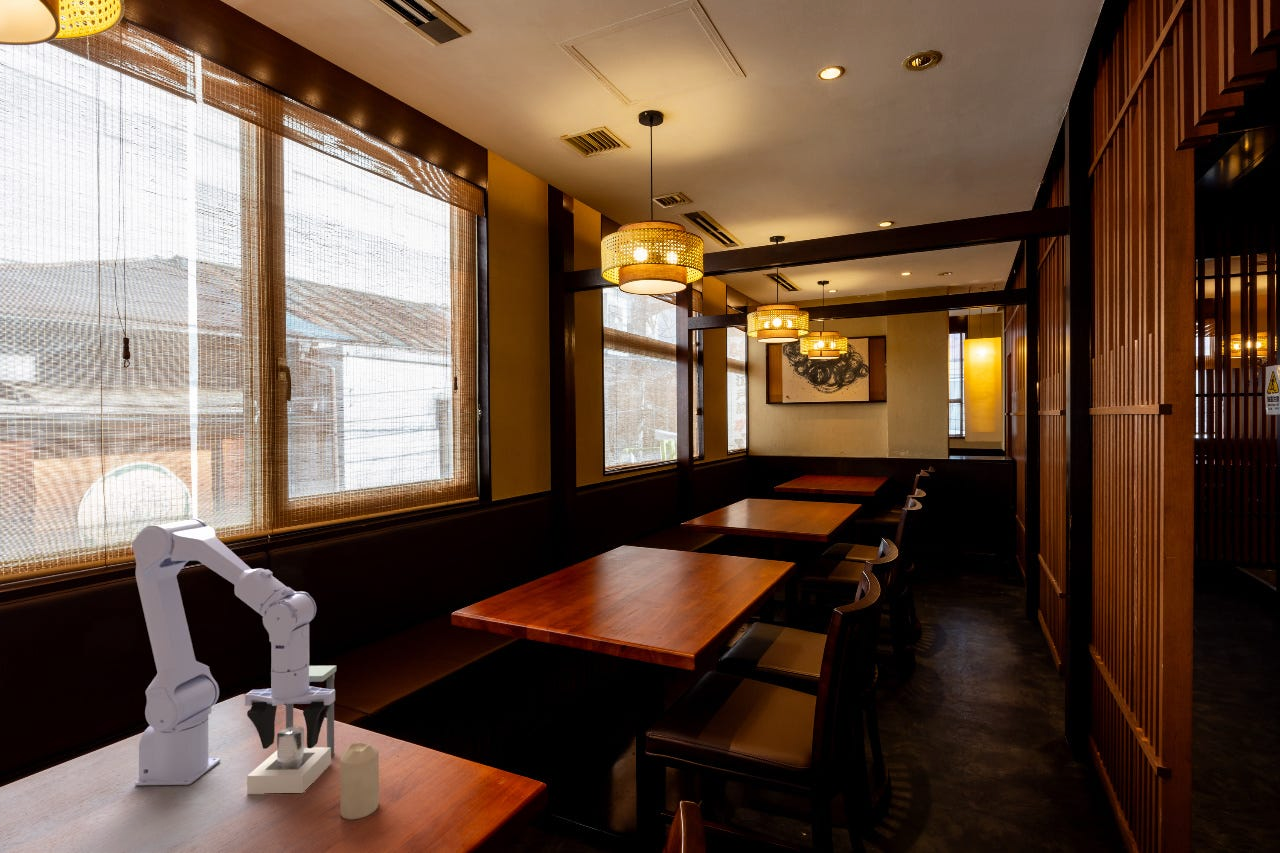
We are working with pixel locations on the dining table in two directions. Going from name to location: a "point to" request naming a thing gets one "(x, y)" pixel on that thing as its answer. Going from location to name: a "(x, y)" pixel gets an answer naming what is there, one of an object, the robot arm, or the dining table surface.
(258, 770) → the socket block
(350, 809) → the candle
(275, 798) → the dining table surface
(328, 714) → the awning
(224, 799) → the dining table surface
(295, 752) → the peg
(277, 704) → the robot arm
